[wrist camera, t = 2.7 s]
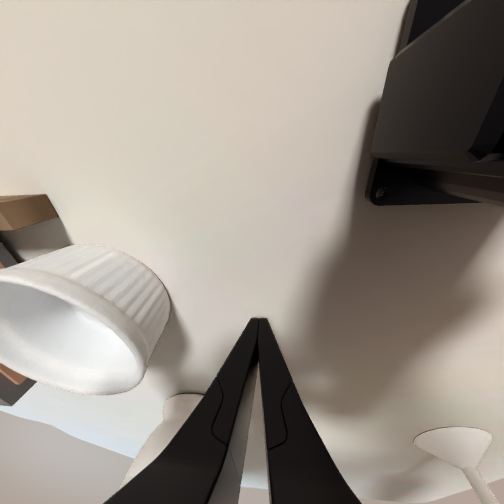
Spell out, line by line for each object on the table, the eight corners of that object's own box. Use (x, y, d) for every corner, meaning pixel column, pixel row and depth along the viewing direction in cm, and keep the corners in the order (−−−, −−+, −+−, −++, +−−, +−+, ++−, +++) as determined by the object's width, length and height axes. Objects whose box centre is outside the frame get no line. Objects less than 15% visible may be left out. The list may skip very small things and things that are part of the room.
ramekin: (90, 202, 10) (-27, 234, 6) (205, 306, 13) (177, 372, 9) (30, 277, 13) (-72, 330, 9) (134, 347, 16) (90, 408, 12)
